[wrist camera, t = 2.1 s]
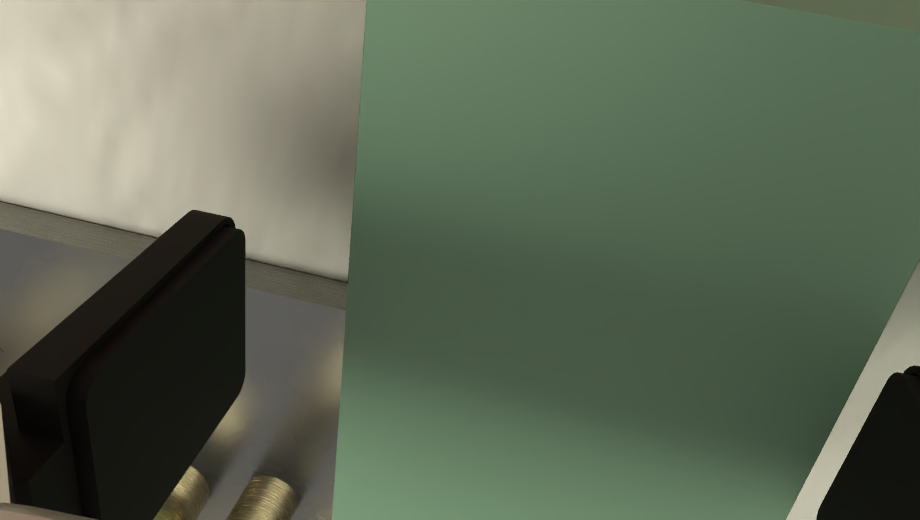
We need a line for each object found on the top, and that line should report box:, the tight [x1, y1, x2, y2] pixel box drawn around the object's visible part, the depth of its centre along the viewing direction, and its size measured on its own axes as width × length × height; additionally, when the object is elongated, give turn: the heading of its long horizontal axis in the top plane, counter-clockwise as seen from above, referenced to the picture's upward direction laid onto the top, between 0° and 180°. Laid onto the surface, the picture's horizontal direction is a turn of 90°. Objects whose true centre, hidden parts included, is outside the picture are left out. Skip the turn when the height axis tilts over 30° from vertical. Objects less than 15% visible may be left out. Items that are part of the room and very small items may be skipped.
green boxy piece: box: [332, 0, 920, 520], centre depth 13 cm, size 7×10×5 cm
